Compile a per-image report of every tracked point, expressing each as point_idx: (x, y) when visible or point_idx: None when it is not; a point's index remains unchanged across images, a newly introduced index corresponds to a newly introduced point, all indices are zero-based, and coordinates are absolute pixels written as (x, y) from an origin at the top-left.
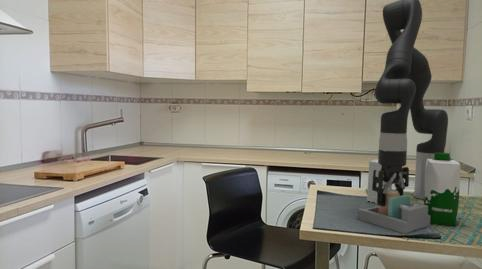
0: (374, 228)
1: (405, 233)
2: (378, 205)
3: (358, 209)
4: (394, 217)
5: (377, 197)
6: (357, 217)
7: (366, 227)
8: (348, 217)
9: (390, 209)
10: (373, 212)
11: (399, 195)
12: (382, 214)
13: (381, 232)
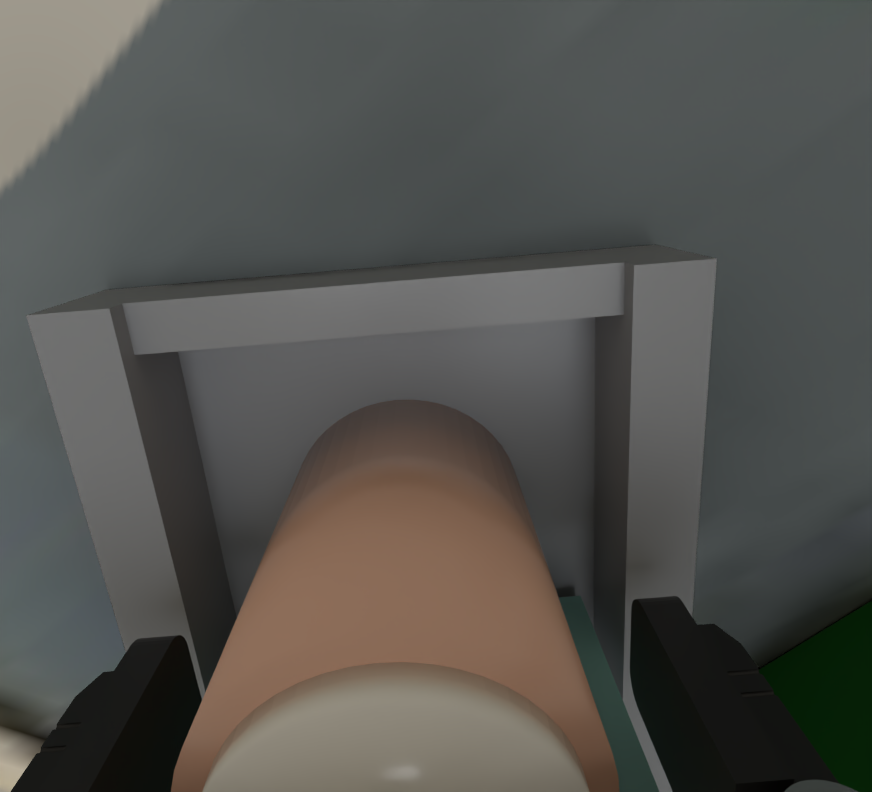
0: (70, 597)
1: None
2: (277, 531)
3: (31, 330)
4: None
5: (28, 773)
6: (97, 294)
7: (7, 546)
8: (30, 182)
9: None
10: (140, 538)
11: (673, 753)
12: (189, 640)
13: (57, 688)
